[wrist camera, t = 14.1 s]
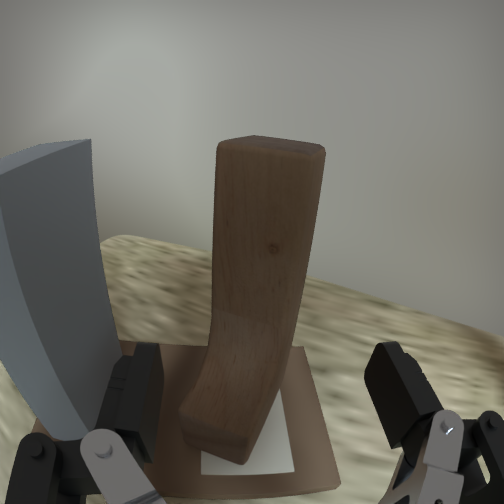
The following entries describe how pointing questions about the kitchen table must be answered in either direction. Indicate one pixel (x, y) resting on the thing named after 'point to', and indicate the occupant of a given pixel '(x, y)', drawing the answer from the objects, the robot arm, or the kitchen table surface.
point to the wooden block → (253, 288)
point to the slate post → (54, 287)
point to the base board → (264, 452)
